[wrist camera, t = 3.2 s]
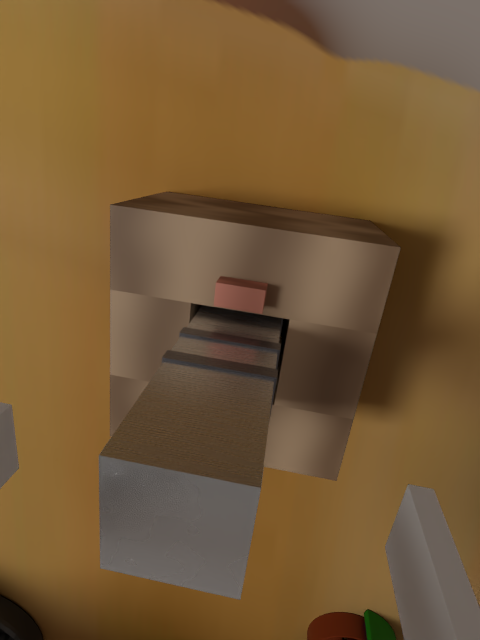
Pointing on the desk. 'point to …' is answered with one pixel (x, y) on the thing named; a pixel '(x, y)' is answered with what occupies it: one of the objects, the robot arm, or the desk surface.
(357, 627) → the motor
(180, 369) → the column
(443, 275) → the desk surface
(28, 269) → the desk surface
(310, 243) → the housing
